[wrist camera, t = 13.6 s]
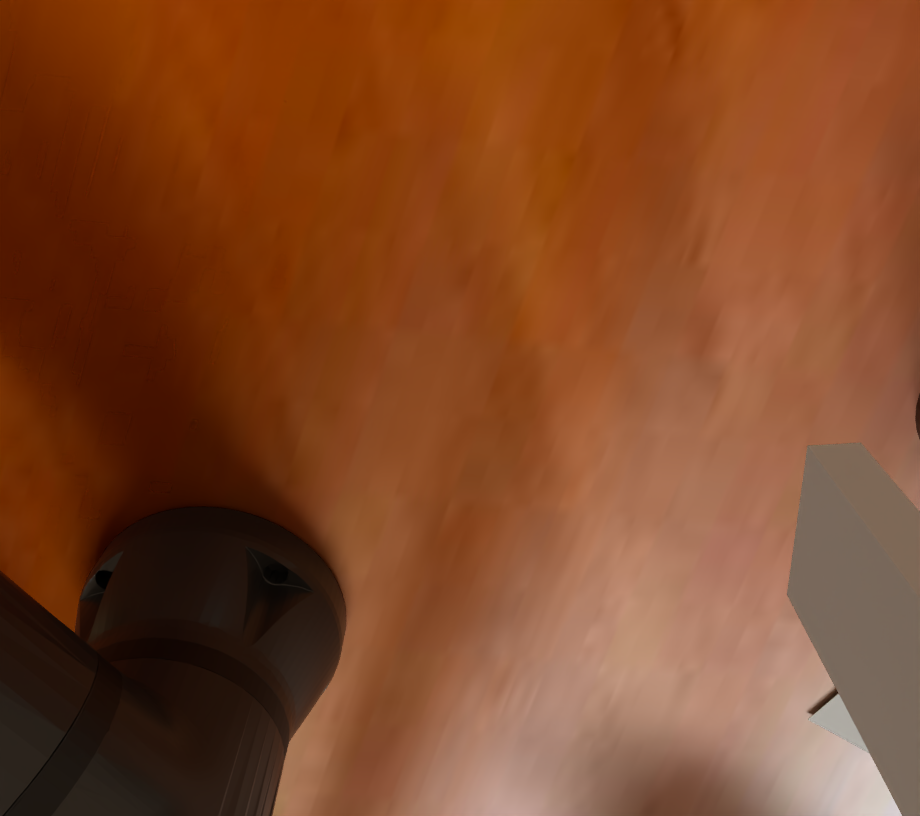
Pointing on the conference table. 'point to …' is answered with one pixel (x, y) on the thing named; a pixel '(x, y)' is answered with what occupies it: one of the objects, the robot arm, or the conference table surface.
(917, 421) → the food container
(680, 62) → the conference table surface
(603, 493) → the conference table surface
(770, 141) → the conference table surface
